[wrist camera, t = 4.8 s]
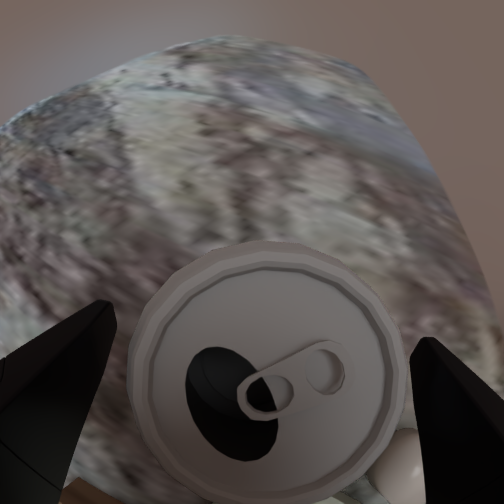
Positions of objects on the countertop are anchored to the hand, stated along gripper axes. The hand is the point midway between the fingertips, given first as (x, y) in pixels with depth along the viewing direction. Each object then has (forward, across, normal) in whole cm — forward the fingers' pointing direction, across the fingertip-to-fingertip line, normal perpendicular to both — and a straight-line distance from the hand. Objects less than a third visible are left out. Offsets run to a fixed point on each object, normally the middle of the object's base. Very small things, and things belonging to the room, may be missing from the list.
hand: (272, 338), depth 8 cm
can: (+6, 0, +8) cm, 10 cm away
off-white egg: (+1, -11, +13) cm, 17 cm away
